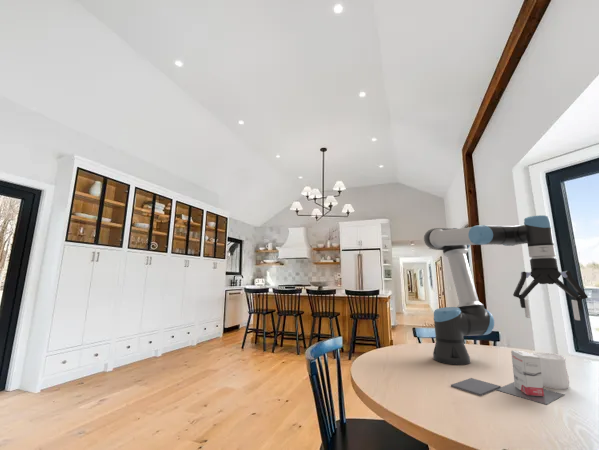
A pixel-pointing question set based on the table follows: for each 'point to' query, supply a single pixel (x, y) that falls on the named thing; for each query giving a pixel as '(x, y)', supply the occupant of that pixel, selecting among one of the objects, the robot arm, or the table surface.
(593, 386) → the table surface
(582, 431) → the table surface
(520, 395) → the slate mat
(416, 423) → the table surface
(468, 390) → the felt pad
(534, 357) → the ink box
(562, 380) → the cup
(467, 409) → the table surface
